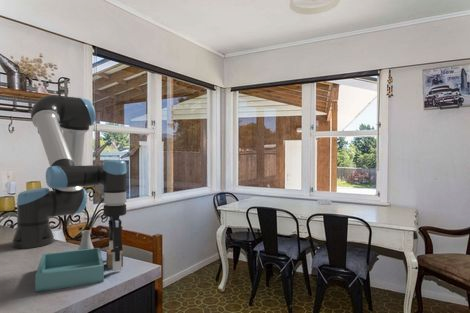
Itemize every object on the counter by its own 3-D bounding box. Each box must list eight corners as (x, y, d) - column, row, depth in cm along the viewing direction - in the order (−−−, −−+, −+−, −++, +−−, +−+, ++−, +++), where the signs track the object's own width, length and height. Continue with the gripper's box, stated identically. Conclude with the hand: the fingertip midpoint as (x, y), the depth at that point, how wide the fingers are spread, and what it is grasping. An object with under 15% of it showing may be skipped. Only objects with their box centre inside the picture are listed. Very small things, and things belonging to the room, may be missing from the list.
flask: (88, 261, 115) (88, 234, 115) (70, 259, 117) (70, 233, 116) (100, 255, 122) (100, 229, 122) (83, 253, 124) (84, 228, 124)
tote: (42, 268, 108) (42, 254, 108) (99, 261, 116) (99, 247, 116) (35, 292, 90) (35, 275, 90) (103, 281, 98) (103, 265, 98)
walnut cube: (106, 264, 113) (106, 250, 113) (121, 262, 115) (121, 248, 115) (107, 268, 108) (107, 254, 108) (123, 266, 111) (123, 252, 111)
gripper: (101, 199, 121) (101, 255, 121) (106, 210, 99) (106, 278, 99) (121, 198, 124) (121, 252, 125) (131, 208, 102) (131, 274, 102)
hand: (114, 263), depth 112 cm, fingers open, 13 cm apart
